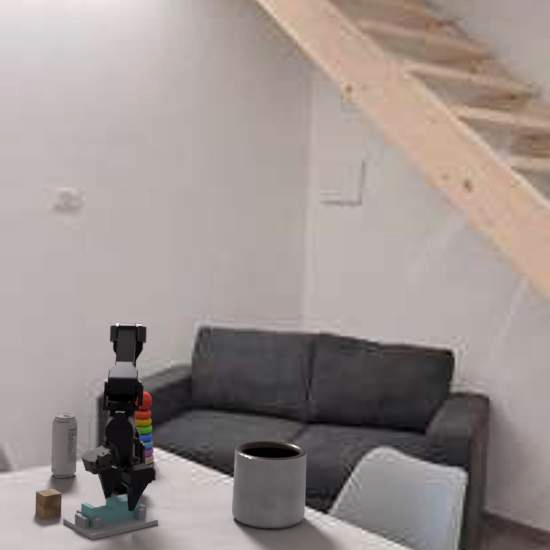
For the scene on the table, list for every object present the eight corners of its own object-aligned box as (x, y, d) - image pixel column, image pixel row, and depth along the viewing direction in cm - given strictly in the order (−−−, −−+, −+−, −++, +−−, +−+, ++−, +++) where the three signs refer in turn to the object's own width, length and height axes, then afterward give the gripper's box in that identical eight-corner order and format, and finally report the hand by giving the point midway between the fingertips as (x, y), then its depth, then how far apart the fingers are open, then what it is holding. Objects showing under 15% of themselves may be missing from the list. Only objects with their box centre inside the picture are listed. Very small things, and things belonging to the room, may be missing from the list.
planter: (292, 535, 200) (296, 463, 199) (221, 524, 205) (224, 453, 204) (312, 512, 216) (315, 445, 214) (245, 503, 220) (248, 437, 219)
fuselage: (129, 511, 208) (129, 493, 208) (139, 516, 205) (140, 498, 205) (80, 521, 200) (81, 503, 200) (90, 527, 197) (91, 508, 197)
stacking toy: (129, 467, 245) (131, 395, 244) (119, 459, 252) (121, 389, 251) (158, 464, 249) (160, 393, 247) (147, 456, 256) (149, 387, 254)
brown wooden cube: (52, 510, 210) (52, 488, 209) (61, 515, 207) (61, 493, 206) (35, 514, 207) (35, 491, 207) (44, 519, 204) (44, 496, 204)
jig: (127, 509, 213) (127, 495, 212) (158, 524, 204) (158, 510, 203) (63, 522, 202) (63, 509, 202) (92, 539, 193) (92, 525, 193)
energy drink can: (58, 470, 240) (60, 411, 238) (80, 473, 238) (81, 414, 237) (46, 476, 234) (48, 416, 233) (68, 479, 232) (70, 419, 231)
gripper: (65, 429, 204) (63, 500, 205) (112, 448, 190) (109, 524, 192) (110, 422, 212) (108, 491, 213) (158, 440, 198) (156, 514, 199)
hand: (119, 505), depth 204 cm, fingers open, 9 cm apart
